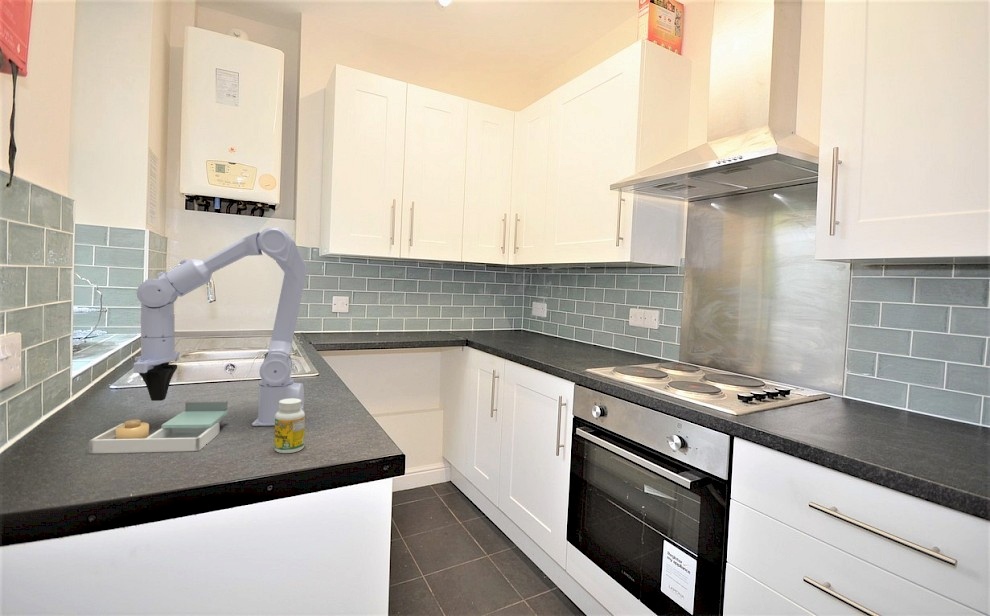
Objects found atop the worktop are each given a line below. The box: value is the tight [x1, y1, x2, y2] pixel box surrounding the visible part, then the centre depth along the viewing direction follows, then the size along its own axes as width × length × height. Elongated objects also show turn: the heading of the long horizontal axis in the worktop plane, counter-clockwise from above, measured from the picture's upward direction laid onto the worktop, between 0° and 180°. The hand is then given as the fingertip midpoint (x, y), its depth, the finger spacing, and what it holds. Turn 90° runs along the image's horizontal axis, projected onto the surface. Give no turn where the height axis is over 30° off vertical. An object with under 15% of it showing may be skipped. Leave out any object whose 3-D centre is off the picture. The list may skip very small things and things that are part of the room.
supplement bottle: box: [274, 398, 306, 454], centre depth 90 cm, size 5×5×10 cm
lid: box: [161, 400, 230, 428], centre depth 97 cm, size 9×10×3 cm
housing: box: [88, 421, 221, 454], centre depth 90 cm, size 18×10×2 cm, turn 102°
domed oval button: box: [116, 418, 150, 439], centre depth 89 cm, size 5×5×4 cm
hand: (158, 399), depth 98 cm, fingers closed
